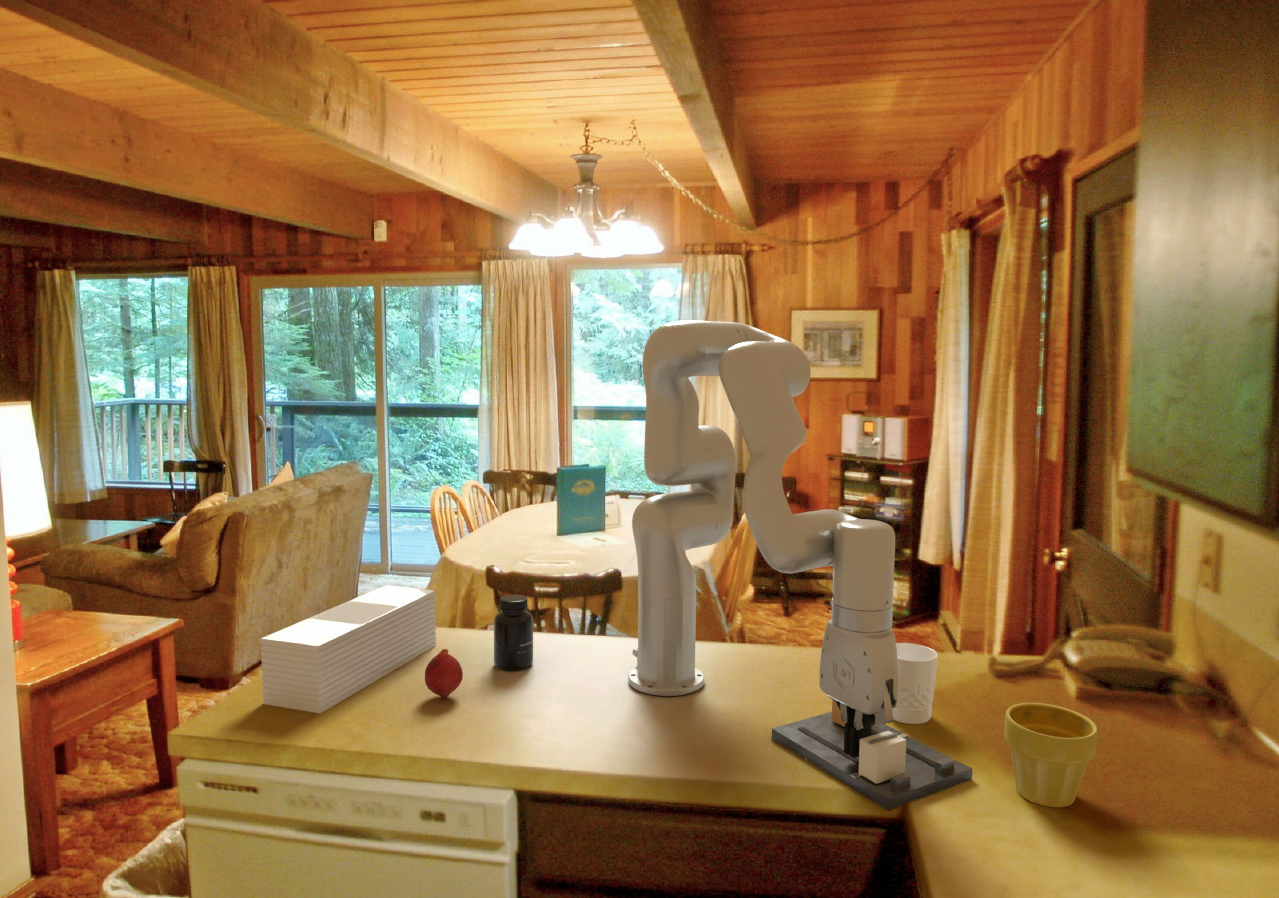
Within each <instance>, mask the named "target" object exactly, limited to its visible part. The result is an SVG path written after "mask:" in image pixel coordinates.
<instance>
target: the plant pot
mask: <svg viewBox="0 0 1279 898" xmlns="http://www.w3.org/2000/svg"><path fill="white" fill-rule="evenodd" d="M1004 715H1005V716H1004V717H1005V718H1004V726H1003V727H1004V728H1003V729H1004V730H1003V731H1004V733H1003V736H1004V739H1005V741H1006V743H1007V744H1008V745H1009V749H1010V754H1011V762H1012V768H1013V769H1012V770H1013V775H1014V777H1013V778H1014V783H1015V784H1014V785H1015V789H1016V791H1017V793H1018V794H1019V795H1020V796H1022V797H1023V798H1024V799H1026V800H1028V801H1030V802H1031V803H1034V804H1038V805H1041V806H1043V807H1049V808H1065V807H1069V806H1071V805H1073V803H1075V800H1076V798H1077V793H1078V791H1079V788H1080V785H1081V782H1082V780H1083V776H1084V773H1085V770H1086V768H1087V765H1088V763H1089V762H1090V761H1091V760H1093V759H1094V757H1095V755H1096V752H1097V744H1098V734H1099V733H1098V726H1097V724H1096V723H1095V722H1094V721H1093V720H1092V719H1090V718H1089V717H1087V716H1086V715H1083V714H1082V713H1079V712H1078V711H1075V710H1073V709H1069V708H1066V707H1064V706H1063V707H1062V706H1059V705H1054V704H1049V703H1040V702H1022V703H1016V704H1013V705H1011V706H1010V707H1008V708H1007V709H1006V711H1005V714H1004Z"/></svg>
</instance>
